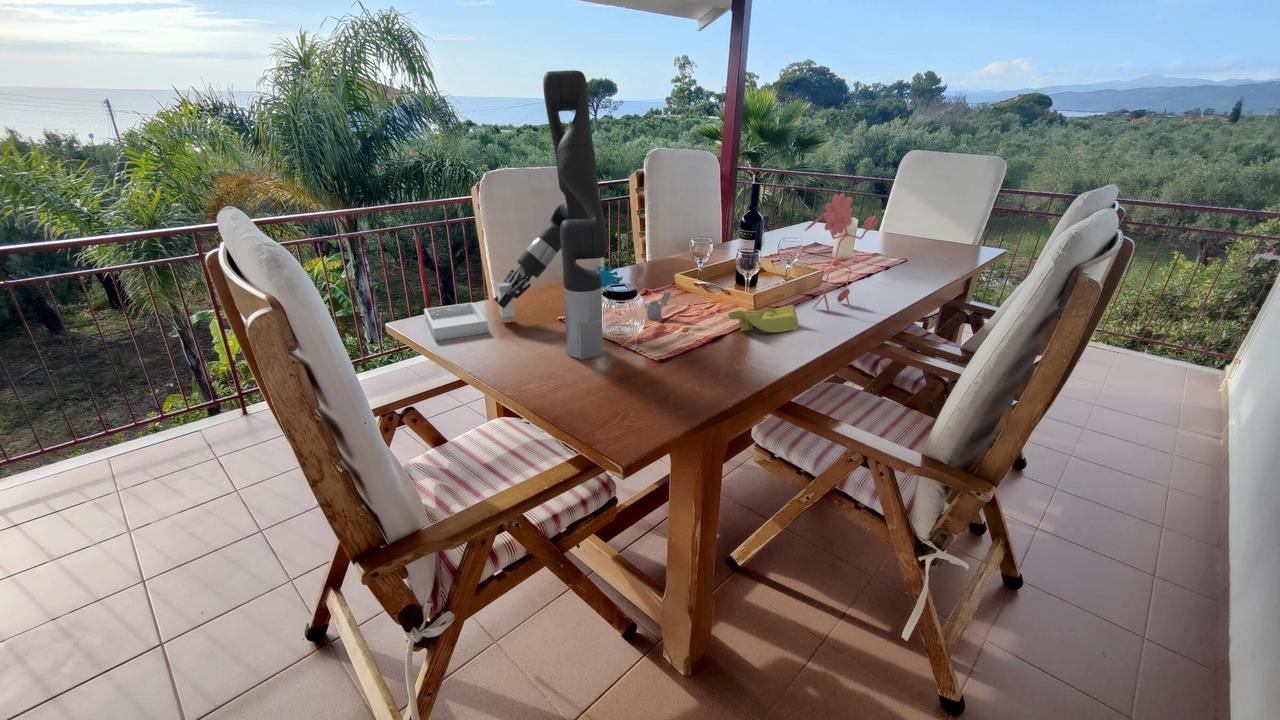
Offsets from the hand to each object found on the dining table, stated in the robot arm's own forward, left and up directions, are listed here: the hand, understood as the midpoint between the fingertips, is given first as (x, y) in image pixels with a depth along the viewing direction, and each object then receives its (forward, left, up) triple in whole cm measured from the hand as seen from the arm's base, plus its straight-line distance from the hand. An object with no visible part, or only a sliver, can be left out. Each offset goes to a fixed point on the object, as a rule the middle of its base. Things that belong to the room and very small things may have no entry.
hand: (499, 303), depth 155 cm
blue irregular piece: (+19, -42, -6) cm, 47 cm away
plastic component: (-35, -66, -6) cm, 75 cm away
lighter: (-15, -44, -6) cm, 47 cm away
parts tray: (+3, +12, -6) cm, 14 cm away
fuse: (0, -2, -5) cm, 5 cm away
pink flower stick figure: (-28, -98, -6) cm, 102 cm away
